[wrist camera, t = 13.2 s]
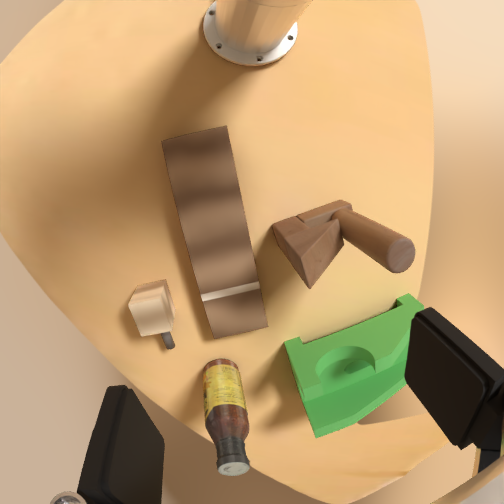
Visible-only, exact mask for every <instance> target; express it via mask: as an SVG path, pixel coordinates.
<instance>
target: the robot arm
mask: <svg viewBox="0 0 504 504" xmlns="http://www.w3.org/2000/svg"><path fill="white" fill-rule="evenodd" d="M311 2H312V0H216V1H214V2H213V3H212V4H211V6H210V7H209V8H208V10H207V12H206V14H205V16H204V22H203V31H204V36H205V38H206V41H207V43H208V44H209V46H210V47H211V48H212V50H213V51H214V52H215V53H217V54H218V55H219V56H220V57H222V58H224V59H225V60H227V61H230V62H232V63H235V64H239V65H243V66H261V65H266V64H270V63H272V62H274V61H277V60H279V59H280V58H282V57H283V56H284V55H285V54H286V53H287V52H288V51H289V50H290V49H291V48H292V46H293V45H294V43H295V41H296V38H297V33H298V25H297V20H298V19H299V17H300V16H301V15H302V13H303V12H304V11H305V9H306V8H307V7H308V6H309V4H310V3H311ZM211 14H213V15H211ZM288 38H289V39H290V40H288ZM217 47H221V48H220V49H217ZM257 59H260V62H259V61H257ZM404 377H405V381H406V383H407V384H408V385H409V387H410V388H411V390H412V391H413V392H414V394H415V395H416V396H417V398H418V399H419V400H420V401H421V403H422V404H423V405H424V407H425V408H426V409H427V411H428V412H429V413H430V415H431V416H432V417H433V419H434V420H435V421H436V423H437V424H438V426H439V427H440V428H441V430H442V431H443V432H444V434H445V435H446V436H447V438H448V439H449V441H450V442H451V443H452V444H453V445H455V446H456V445H457V446H458V447H459V448H460V449H461V450H462V449H464V448H465V447H467V446H468V445H470V444H471V443H474V444H475V446H476V447H477V448H476V456H475V462H474V469H473V475H472V478H471V479H470V480H468V481H467V482H465V483H464V484H462V485H460V486H459V487H458V488H456V489H454V490H453V491H451V492H449V493H448V494H446V495H444V496H443V497H441V498H439V499H438V500H436V501H434V502H432V503H430V504H504V369H503V368H502V367H501V366H500V365H499V364H497V363H496V362H495V361H494V360H493V359H492V358H491V357H490V356H489V355H488V354H486V353H485V352H484V351H483V350H482V349H481V348H479V347H478V346H477V345H476V344H475V343H474V342H473V341H472V340H470V339H469V338H468V337H467V336H466V335H464V334H463V333H462V332H461V331H460V330H459V329H457V328H456V327H455V326H454V325H453V324H451V323H450V322H449V321H448V320H447V319H445V318H444V317H443V316H442V315H441V314H440V313H438V312H437V311H436V310H435V309H433V308H431V307H429V308H426V309H424V310H421V311H419V312H417V313H415V315H414V318H413V319H412V320H411V328H410V337H409V346H408V353H407V360H406V367H405V373H404ZM164 447H165V446H164V439H163V437H162V435H161V434H160V433H159V431H158V429H157V428H156V426H155V425H154V423H153V422H152V420H151V419H150V417H149V416H148V414H147V413H146V411H145V409H144V408H143V406H142V404H141V403H140V401H139V399H138V398H137V396H136V394H135V393H134V391H133V390H132V389H128V388H127V386H125V385H118V386H109V387H108V388H107V390H106V393H105V396H104V399H103V402H102V405H101V408H100V411H99V415H98V418H97V421H96V425H95V428H94V430H93V432H92V436H91V439H90V442H89V446H88V450H87V453H86V457H85V461H84V464H83V468H82V472H81V476H80V480H79V485H78V489H77V493H74V492H70V491H69V492H63V493H60V494H58V495H57V496H55V497H54V498H53V499H52V501H51V502H50V504H161V497H162V477H163V461H164Z"/></svg>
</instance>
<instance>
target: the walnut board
mask: <svg viewBox="0 0 504 504" xmlns="http://www.w3.org/2000/svg"><path fill="white" fill-rule="evenodd" d="M161 142H162V147H163V151H164V156H165V160H166V165H167V169H168V173H169V178H170V182H171V186H172V190H173V194H174V198H175V202H176V207H177V210H178V214H179V218H180V222H181V226H182V230H183V234H184V237H185V241H186V245H187V249H188V252H189V256H190V259H191V263H192V267H193V270H194V274H195V277H196V281H197V284H198V287H199V291H200V294H201V298H202V301H203V304H204V308H205V311H206V314H207V317H208V320H209V324H210V327H211V330H212V333H213V336H214V339H217V338H222V337H226V336H231V335H235V334H240V333H244V332H249V331H253V330H257V329H261V328H265V327H268V324H267V319H266V314H265V309H264V304H263V300H262V295H261V290H260V285H259V280H258V275H257V270H256V266H255V261H254V256H253V251H252V246H251V241H250V236H249V232H248V227H247V222H246V217H245V212H244V207H243V202H242V198H241V193H240V188H239V183H238V178H237V173H236V168H235V164H234V159H233V154H232V149H231V144H230V139H229V135H228V130H227V126H223V127H218V128H213V129H209V130H204V131H200V132H195V133H191V134H187V135H183V136H179V137H175V138H171V139H167V140H164V141H161Z"/></svg>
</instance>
